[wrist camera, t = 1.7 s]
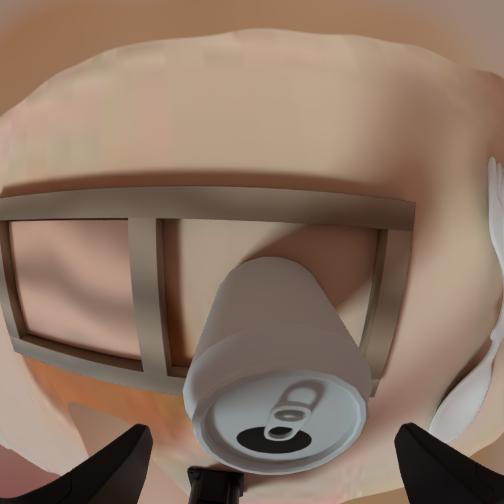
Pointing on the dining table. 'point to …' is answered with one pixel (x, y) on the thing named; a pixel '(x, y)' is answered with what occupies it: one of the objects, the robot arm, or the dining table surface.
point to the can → (276, 373)
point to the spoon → (478, 380)
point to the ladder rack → (158, 271)
